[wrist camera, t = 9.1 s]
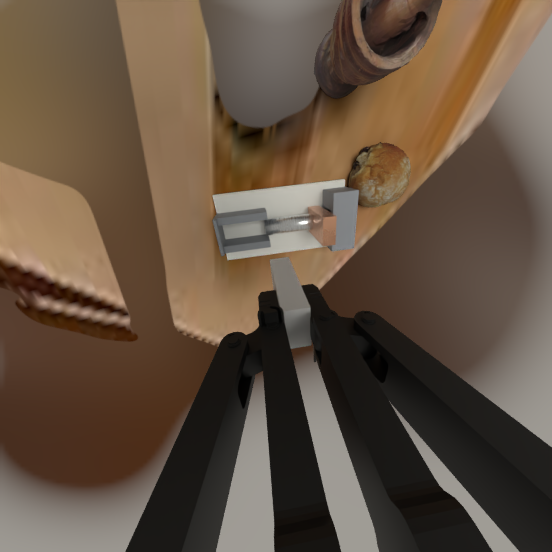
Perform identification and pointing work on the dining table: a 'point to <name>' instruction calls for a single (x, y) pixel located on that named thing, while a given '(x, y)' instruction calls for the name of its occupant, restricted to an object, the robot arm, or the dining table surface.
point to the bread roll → (380, 174)
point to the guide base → (280, 203)
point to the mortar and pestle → (372, 41)
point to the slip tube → (306, 225)
